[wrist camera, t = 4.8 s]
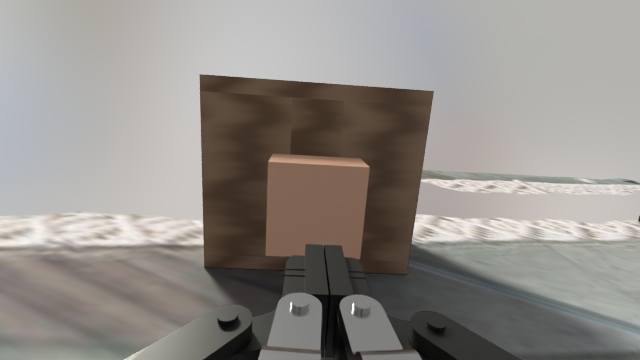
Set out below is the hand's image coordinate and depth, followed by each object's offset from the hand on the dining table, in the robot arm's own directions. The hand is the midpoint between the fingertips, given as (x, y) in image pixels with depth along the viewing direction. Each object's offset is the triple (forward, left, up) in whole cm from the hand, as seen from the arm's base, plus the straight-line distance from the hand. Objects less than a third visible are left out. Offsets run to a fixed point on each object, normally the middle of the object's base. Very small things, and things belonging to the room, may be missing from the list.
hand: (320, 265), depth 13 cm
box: (0, +18, -8) cm, 20 cm away
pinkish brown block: (0, +11, -3) cm, 11 cm away
